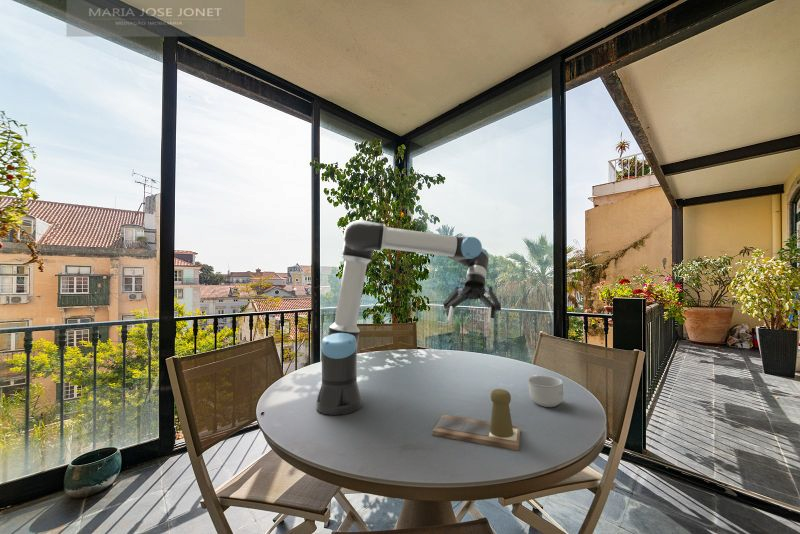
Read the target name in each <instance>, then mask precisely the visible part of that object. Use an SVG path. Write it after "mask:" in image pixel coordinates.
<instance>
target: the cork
mask: <svg viewBox="0 0 800 534" xmlns="http://www.w3.org/2000/svg"><path fill="white" fill-rule="evenodd" d="M490 400H491V402H492V406H491V408H492V409H491V415H490V416H491V418H490V422H491V425H490V432H491V433H492V434H493V435H495V436H498V437H503V438H507V437H511V436H513V428H512V425H513V421H512V417H511V410H510V403H511V401H512V395H511V394H510V392H509V390H506V389H503V388H496V389H492V391H491V392H490Z"/></svg>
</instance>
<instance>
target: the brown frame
mask: <svg viewBox="0 0 800 534" xmlns="http://www.w3.org/2000/svg"><path fill="white" fill-rule="evenodd" d="M490 425H491V421H487V420H482V419H475V418H474V419H473V418H468V417H461V416H454V415H447V414H442V416H441V417H440V419H439V420H438V422H437V423H436V425H435V426H434V428H433V429H432V436H435V437H441V438H446V439H453V440H459V441H463V442H469V443H473V444H474V443H475V444H479V445H480V444H481V445H486V446H491V447H496V448H501V449H507V450H513V451H520V441H521V426H520V425H514V424H512V428H513V436H511V437H507V438H503V437H498V436H495V435H493V434H492V433H491V432H490Z"/></svg>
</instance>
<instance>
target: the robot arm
mask: <svg viewBox="0 0 800 534" xmlns="http://www.w3.org/2000/svg"><path fill="white" fill-rule="evenodd" d="M343 240H344V242H343V246H342V252H341V257H342V258H343V260H344V264H343V270H342V276H341V281H340V282H341V283H340V289H339V294H338V299H337V306H336V311H335V316H334V317H335V318H334V322H333V323H332V324H331V325H329V328H328V334H327V335H326V336H324V337H323V338H322V341H321V346H320V350H321V386H320V389H319V391H318V395H317V399H316V411H317V410H318V411H317V412H318V413H320V412H321V413H320V414H323V415H327V414H329V415H328V416H339V414H342V415H347V413H348V414H351V413H353V412H356V411H358V410H359V409H360V408H362V406H363V397H362V394H361V393H362V392H361V390H360V387H359V384H358V381H357V380H358V376H357V375H358V374H357V373H358V372H357V371H358V366H357V365H358V363H357V358H358V355H357V351H358V344H359V338H360V332H361V331H360V328H359V327H358V326H357V325H358V320H359V314H360V310H361V309H360V308H361V301H362V296H363V290H364V283H365V280H366V279H365V277H366V273H367V272H366V271H367V267H368V266H367V265H368V264H370V263H371V262H372V259H373V254H374V251H380V252H381V251H383V250H384V249H387V250H393V251H403V252H411V253H418V254H427V255H428V254H429V255H434V256H435V255H436V256H442V257H443V256H444V257H446V258H448V259H450V260H452V261H454V262H456V263H458V264H460V265H462V266H463V267H466V268H467V271H466V276H465V280H464V286H463V287H462V288H460V287H459V286H455V287H454V290H453V292H452V293H450V295H449V296H448V297H447V298H446V299H445V300H444V301H443V303H442V304H443V308H444V309H446V312H445V313H446V317H447V319H446V321H447V324H448V326H451V325H452V321H453V320H452V319H453V316H454V309H455V308H456V307H457V306H459V305H460V304H462V302H465V301H467V300H474V301H475V300H478V299H479V300H480V301H481V302H482V303H483V304H485V306H486V307H488V312H487V328H491V325H492V319H495V317H496V311H500V312H501V311H502V308H501V303H500V301H499V299H498V298H497V296H496V294H495V292H494V291H493V290H494V289H493V286H489V287H488V288H486V279H487V272H488V266H489V257H490V256H489V252H488V251H487V250H486V249H484V248H483V247H482V246H483V245H482V242H481V240H480V239H478V238H477V237H475V236H467V237H463V236H454V235H447V234H439V233H433V232H426V231H418V230H410V229H405V228H404V229H403V228H397V227H389V226H387V225H386V224H385V223H381V222H374V221H369V220H364V219H357V220H353V221H351V222H350V223H349V224H348V225H347V226H346V227H345V229H344V233H343ZM485 294H487V295H488V296H489V297H490V299H491V300H490V299H489V298H488V297H487V296H486V295H485Z"/></svg>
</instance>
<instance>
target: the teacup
mask: <svg viewBox="0 0 800 534" xmlns="http://www.w3.org/2000/svg"><path fill="white" fill-rule="evenodd" d="M527 382H528V390H529V391H528V393H529V396H530V398H531V400H532V401H534V402H535V404H537V405H538V406H540V405H541V406H540V407H546V408H553V407H557V406H558V405H560V404H561V403H562V402H563V400H564V385H563V384H564V381H563V380H562V379H560V378H558V377H555V376H552V375H539V374H534V375H533V376H530V377H529V378H528V379H527Z"/></svg>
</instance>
